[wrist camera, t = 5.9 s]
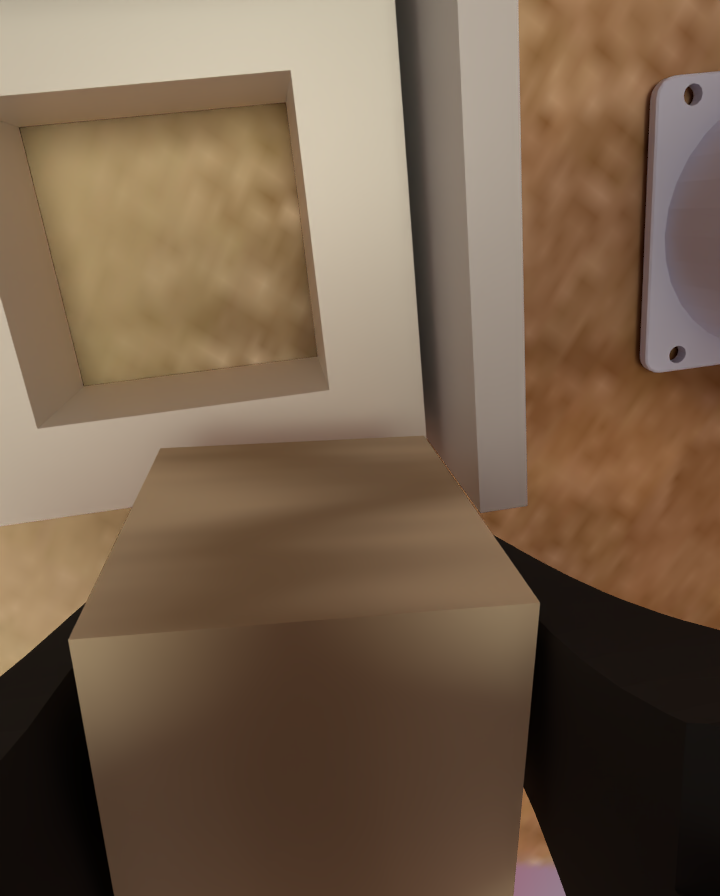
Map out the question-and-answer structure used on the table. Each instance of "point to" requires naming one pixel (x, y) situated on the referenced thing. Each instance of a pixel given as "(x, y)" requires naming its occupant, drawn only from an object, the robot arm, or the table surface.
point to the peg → (307, 678)
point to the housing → (323, 229)
